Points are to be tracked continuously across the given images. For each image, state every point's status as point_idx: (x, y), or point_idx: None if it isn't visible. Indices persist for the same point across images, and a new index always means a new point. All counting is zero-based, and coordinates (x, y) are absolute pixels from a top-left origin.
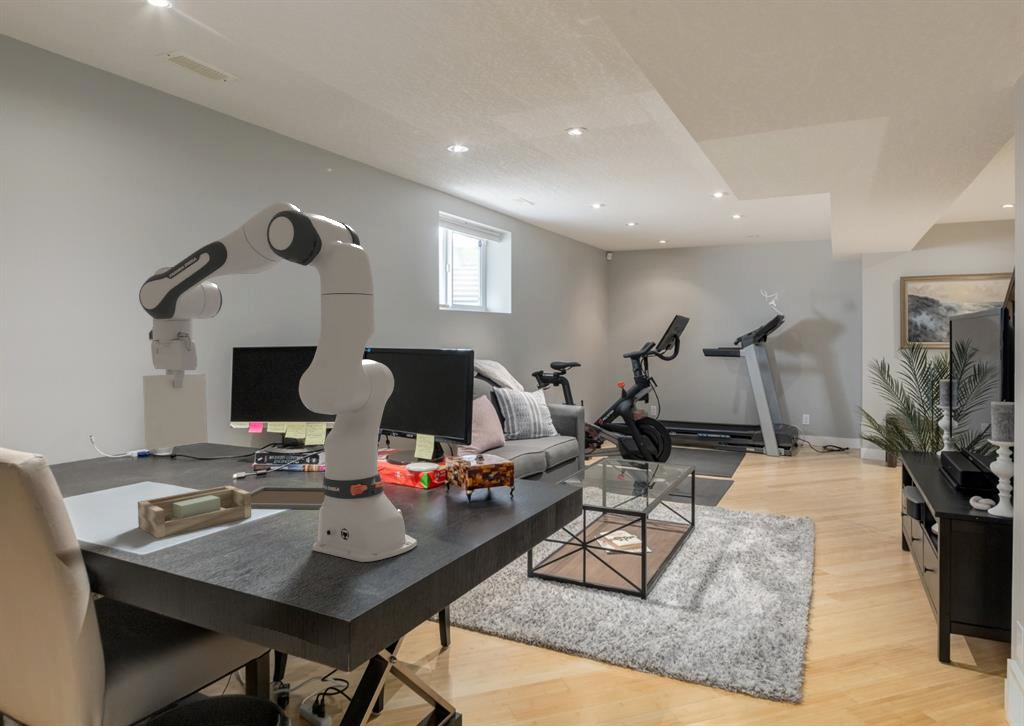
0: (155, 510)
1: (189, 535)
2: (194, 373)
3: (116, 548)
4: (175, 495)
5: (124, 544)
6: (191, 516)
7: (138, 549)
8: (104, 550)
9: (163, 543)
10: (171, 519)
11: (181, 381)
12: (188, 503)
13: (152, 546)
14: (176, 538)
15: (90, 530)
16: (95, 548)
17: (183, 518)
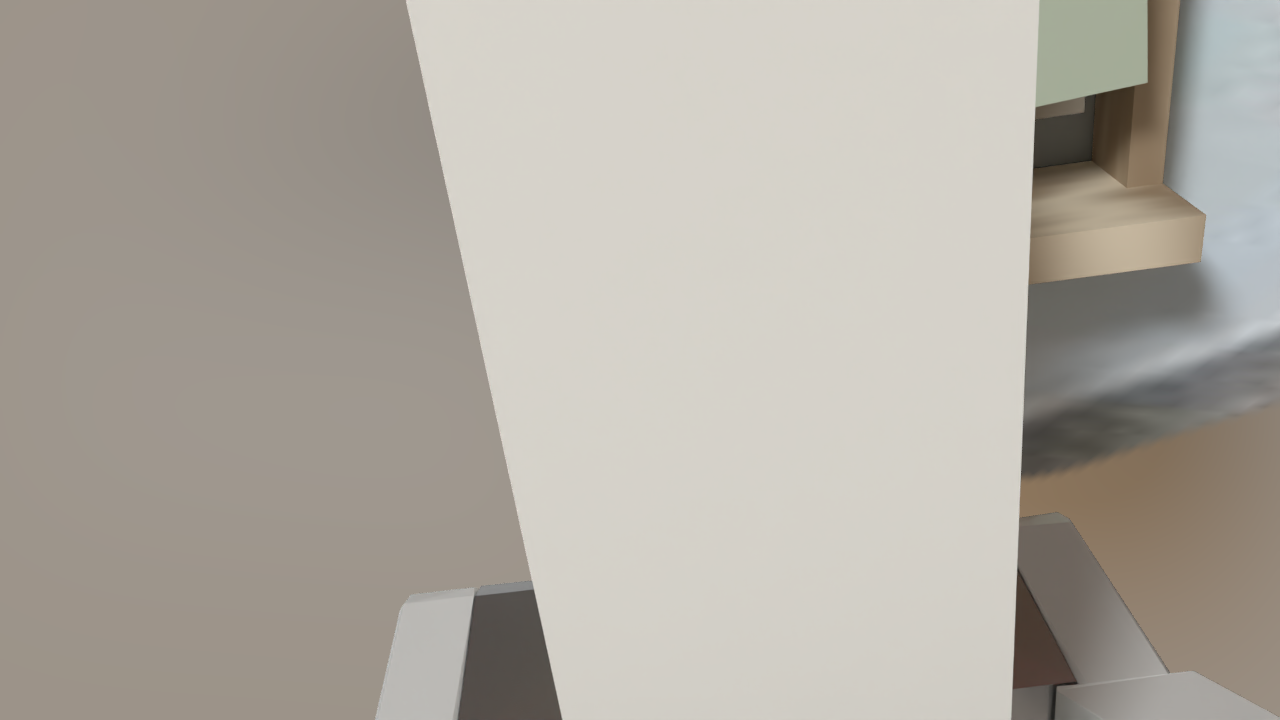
0: (1168, 262)
1: (1235, 34)
2: (443, 91)
3: (1123, 386)
4: None
5: (1084, 349)
6: (1152, 4)
7: (1242, 307)
8: (1106, 431)
9: (1255, 189)
10: (1045, 116)
11: (1160, 683)
12: (1110, 22)
13: (1256, 244)
14: (1225, 111)
15: None
16: (1032, 459)
17: (1157, 63)
